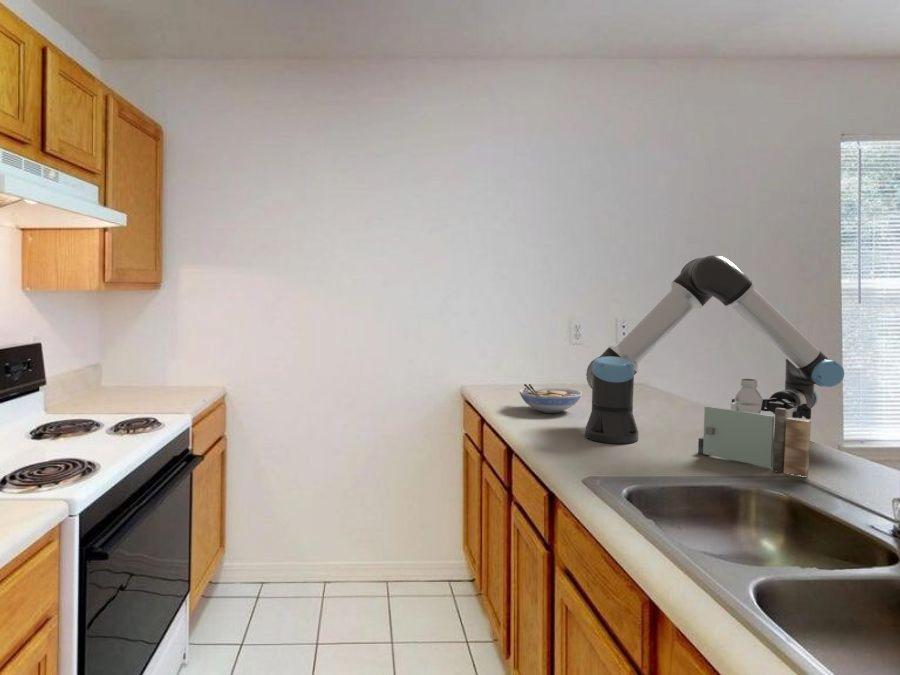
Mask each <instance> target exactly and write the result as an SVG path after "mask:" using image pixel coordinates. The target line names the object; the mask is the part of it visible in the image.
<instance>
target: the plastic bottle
mask: <svg viewBox="0 0 900 675" xmlns="http://www.w3.org/2000/svg"><path fill="white" fill-rule="evenodd" d="M740 387H741V389H740V390H739V391H738V392H737V393H736V395H735V397H734V399H735V409H736V410H737V411H744V412H751V413H758V414H761V412H762V411H761V407H762V402H763V400H762V399H763V397H762V396H761V394H760V392H759V391H758V390H757V388H758V379H754V378H741V379H740Z"/></svg>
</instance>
